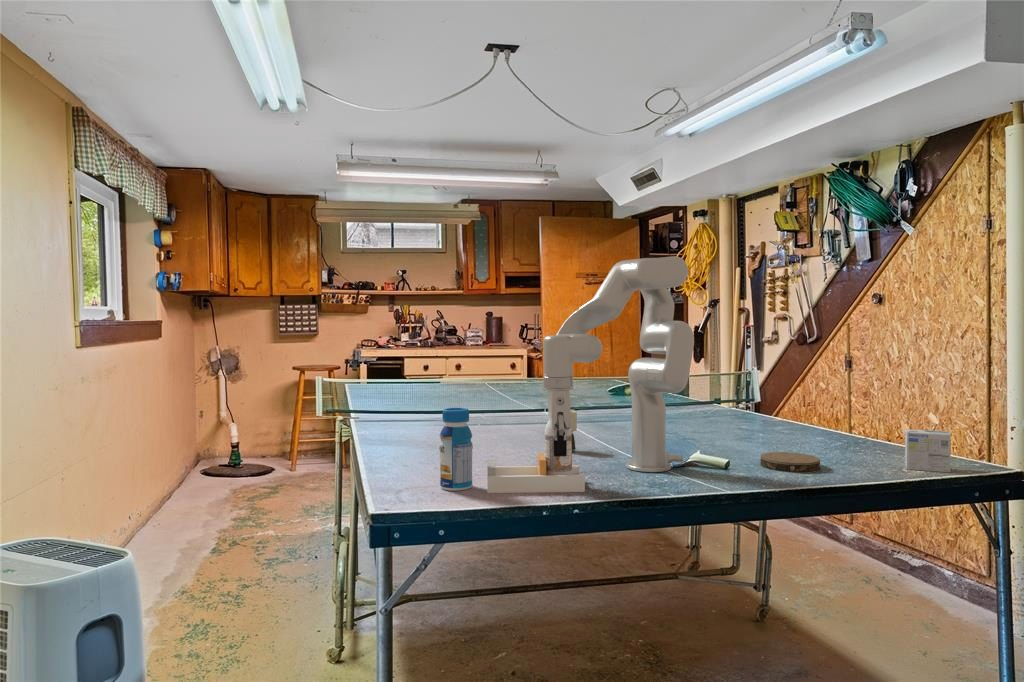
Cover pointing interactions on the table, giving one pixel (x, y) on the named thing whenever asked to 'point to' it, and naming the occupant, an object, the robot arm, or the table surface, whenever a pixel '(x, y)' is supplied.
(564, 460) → the bath foam
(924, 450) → the light bulb box
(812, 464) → the brown round disc
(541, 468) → the orange rectangular block
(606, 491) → the table surface
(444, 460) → the beverage bottle
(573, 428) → the character mug
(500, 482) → the pusher lane
